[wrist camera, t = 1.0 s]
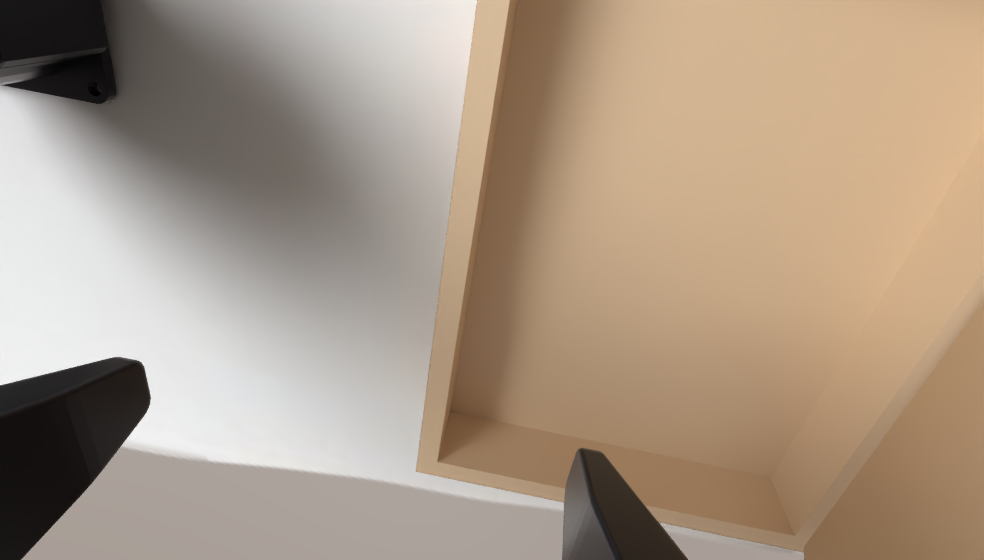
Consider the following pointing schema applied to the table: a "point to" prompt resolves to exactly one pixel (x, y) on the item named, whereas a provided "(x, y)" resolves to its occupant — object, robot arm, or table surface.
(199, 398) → the table surface
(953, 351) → the carton flap
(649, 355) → the carton
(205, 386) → the table surface
